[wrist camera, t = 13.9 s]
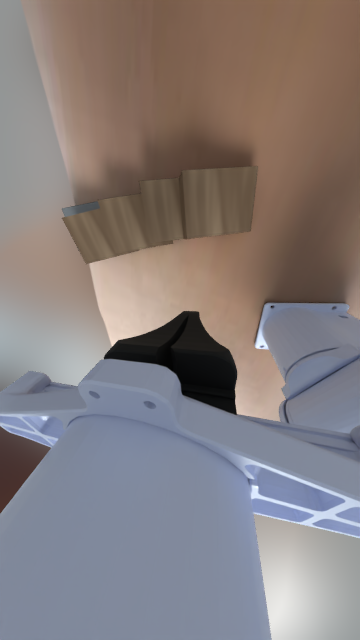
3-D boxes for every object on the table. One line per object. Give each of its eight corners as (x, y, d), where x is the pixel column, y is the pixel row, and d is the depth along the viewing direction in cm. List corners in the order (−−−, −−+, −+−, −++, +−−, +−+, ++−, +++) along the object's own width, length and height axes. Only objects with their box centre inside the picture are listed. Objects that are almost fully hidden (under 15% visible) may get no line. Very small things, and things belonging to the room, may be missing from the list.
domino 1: (126, 245, 21) (86, 250, 22) (115, 202, 18) (72, 210, 20) (120, 246, 19) (78, 250, 21) (107, 199, 17) (61, 208, 18)
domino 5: (258, 166, 13) (182, 170, 12) (250, 231, 15) (187, 238, 14) (247, 174, 14) (179, 178, 13) (242, 232, 16) (183, 239, 16)
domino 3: (164, 189, 15) (97, 200, 14) (173, 243, 17) (115, 253, 17) (163, 194, 16) (102, 204, 16) (171, 243, 19) (118, 252, 18)
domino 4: (211, 175, 14) (139, 181, 13) (211, 235, 16) (150, 242, 15) (206, 181, 15) (140, 187, 14) (207, 236, 17) (150, 242, 17)
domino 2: (122, 202, 16) (61, 217, 16) (138, 250, 18) (86, 264, 18) (125, 206, 17) (69, 220, 17) (139, 250, 20) (91, 262, 20)
